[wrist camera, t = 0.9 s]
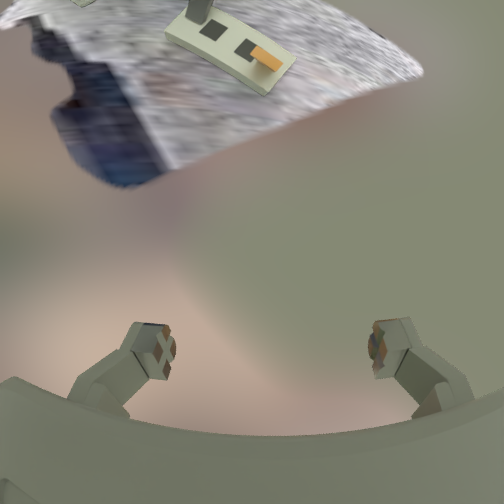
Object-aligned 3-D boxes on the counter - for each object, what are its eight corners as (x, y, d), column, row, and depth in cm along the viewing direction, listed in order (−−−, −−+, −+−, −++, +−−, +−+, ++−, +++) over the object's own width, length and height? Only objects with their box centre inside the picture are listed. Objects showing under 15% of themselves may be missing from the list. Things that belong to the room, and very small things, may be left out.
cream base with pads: (167, 39, 34) (163, 29, 30) (196, 8, 32) (195, -3, 28) (263, 96, 40) (268, 91, 36) (290, 64, 38) (297, 57, 34)
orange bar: (256, 60, 34) (249, 53, 21) (261, 54, 33) (257, 45, 21) (273, 71, 35) (276, 71, 22) (278, 66, 34) (283, 63, 22)
